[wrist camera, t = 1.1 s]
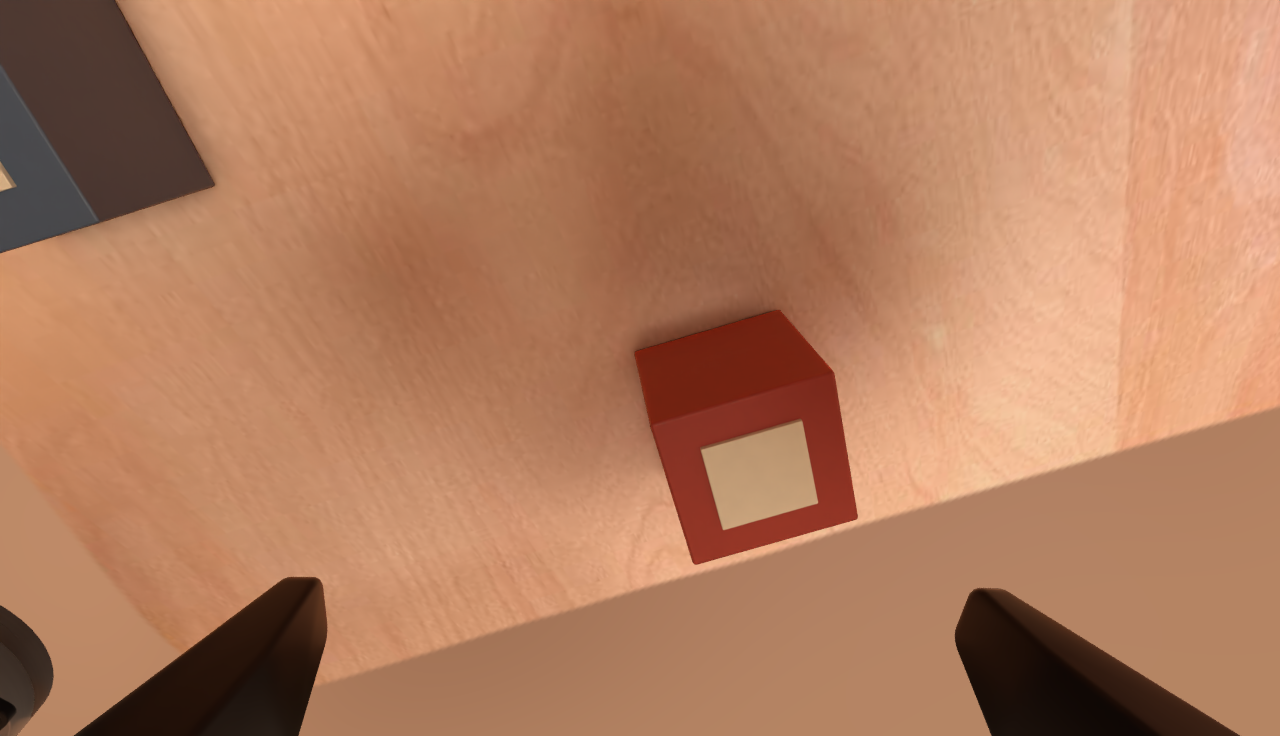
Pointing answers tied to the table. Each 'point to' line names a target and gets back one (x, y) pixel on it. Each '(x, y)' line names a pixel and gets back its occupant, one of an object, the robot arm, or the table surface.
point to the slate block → (82, 122)
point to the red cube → (747, 435)
